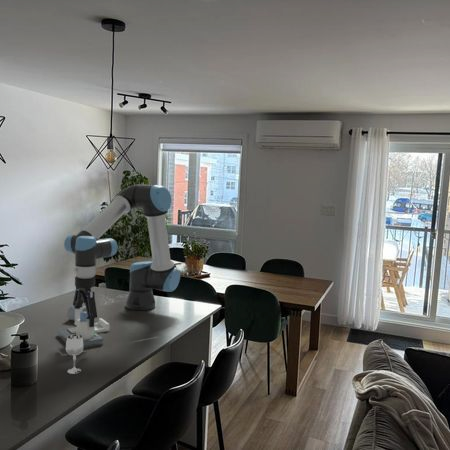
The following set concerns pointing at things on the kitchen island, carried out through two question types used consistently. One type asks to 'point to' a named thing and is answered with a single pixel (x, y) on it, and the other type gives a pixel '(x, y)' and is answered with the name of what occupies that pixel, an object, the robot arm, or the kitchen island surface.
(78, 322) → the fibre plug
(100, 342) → the port panel
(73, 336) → the wineglass
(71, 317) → the ceramic mug
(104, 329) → the holster
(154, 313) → the kitchen island surface
